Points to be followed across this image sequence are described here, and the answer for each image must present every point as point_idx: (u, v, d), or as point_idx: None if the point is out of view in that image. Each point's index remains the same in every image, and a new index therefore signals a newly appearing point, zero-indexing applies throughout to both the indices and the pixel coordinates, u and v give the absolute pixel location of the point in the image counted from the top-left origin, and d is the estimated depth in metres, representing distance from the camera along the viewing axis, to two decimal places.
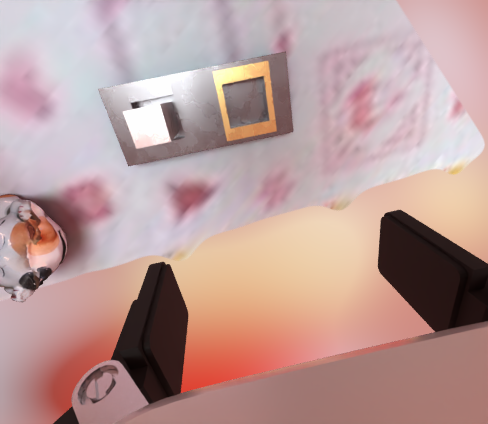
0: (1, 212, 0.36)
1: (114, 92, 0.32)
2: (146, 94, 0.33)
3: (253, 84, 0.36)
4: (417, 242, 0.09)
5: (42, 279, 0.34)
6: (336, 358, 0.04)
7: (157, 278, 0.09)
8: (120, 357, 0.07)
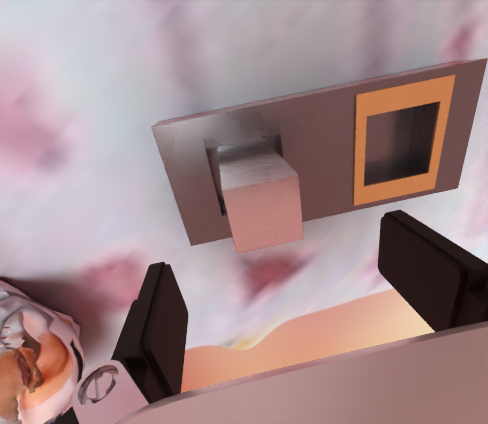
0: None
1: (180, 132, 0.18)
2: (235, 134, 0.18)
3: (401, 111, 0.21)
4: (417, 242, 0.09)
5: None
6: (336, 358, 0.04)
7: (157, 278, 0.09)
8: (120, 357, 0.07)
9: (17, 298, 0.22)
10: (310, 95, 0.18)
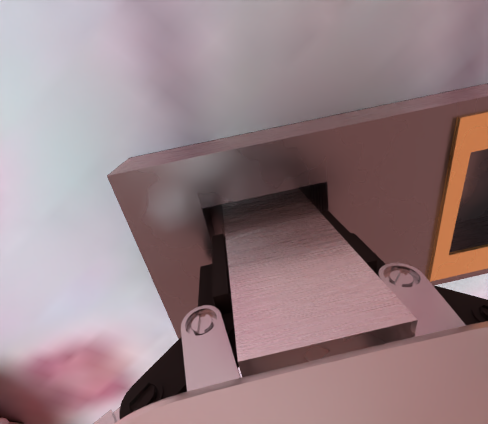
0: None
1: (158, 183, 0.10)
2: (251, 184, 0.11)
3: None
4: None
5: None
6: (336, 358, 0.04)
7: (223, 245, 0.10)
8: None
9: None
10: (382, 119, 0.10)
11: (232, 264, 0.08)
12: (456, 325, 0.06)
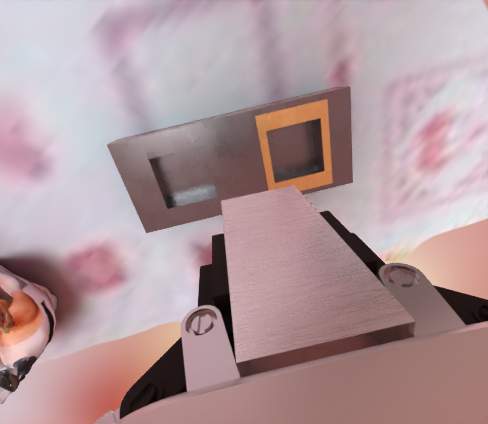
0: None
1: (128, 147, 0.25)
2: (169, 148, 0.25)
3: (302, 125, 0.28)
4: None
5: (22, 375, 0.25)
6: (336, 358, 0.04)
7: (223, 245, 0.10)
8: None
9: None
10: (221, 118, 0.24)
11: (231, 265, 0.08)
12: (456, 325, 0.06)
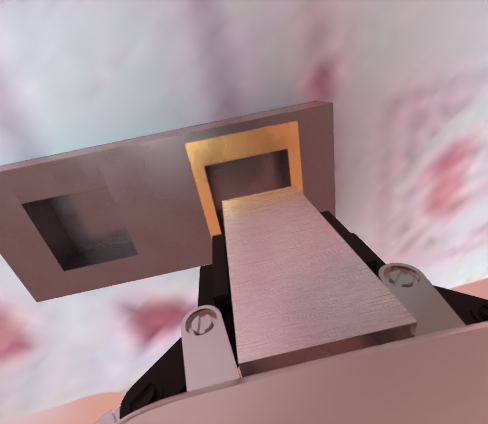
0: None
1: None
2: (52, 188, 0.16)
3: (265, 154, 0.19)
4: None
5: None
6: (336, 358, 0.04)
7: (223, 245, 0.10)
8: None
9: None
10: (131, 145, 0.16)
11: (232, 265, 0.08)
12: (456, 325, 0.06)
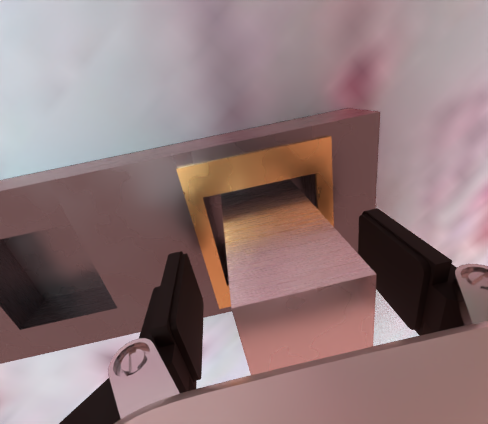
0: None
1: None
2: None
3: None
4: (389, 239, 0.09)
5: None
6: (336, 358, 0.04)
7: (177, 266, 0.10)
8: (147, 337, 0.08)
9: None
10: (102, 170, 0.11)
11: (228, 240, 0.10)
12: None
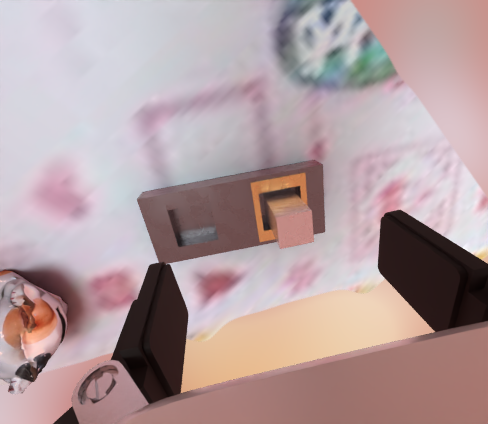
0: None
1: (153, 202, 0.32)
2: (183, 203, 0.33)
3: None
4: (417, 242, 0.09)
5: (40, 368, 0.31)
6: (336, 358, 0.04)
7: (157, 278, 0.09)
8: (120, 357, 0.07)
9: (21, 279, 0.34)
10: (224, 183, 0.32)
11: (270, 206, 0.31)
12: None
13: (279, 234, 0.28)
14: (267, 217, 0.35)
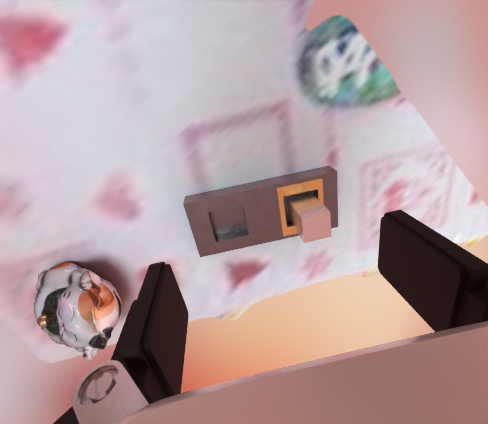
0: (63, 281, 0.41)
1: (196, 205, 0.39)
2: (221, 205, 0.39)
3: None
4: (417, 242, 0.09)
5: (107, 338, 0.38)
6: (336, 358, 0.04)
7: (157, 278, 0.09)
8: (120, 357, 0.07)
9: (83, 268, 0.40)
10: (255, 188, 0.39)
11: (295, 207, 0.37)
12: None
13: (303, 231, 0.35)
14: (289, 215, 0.42)
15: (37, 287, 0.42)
